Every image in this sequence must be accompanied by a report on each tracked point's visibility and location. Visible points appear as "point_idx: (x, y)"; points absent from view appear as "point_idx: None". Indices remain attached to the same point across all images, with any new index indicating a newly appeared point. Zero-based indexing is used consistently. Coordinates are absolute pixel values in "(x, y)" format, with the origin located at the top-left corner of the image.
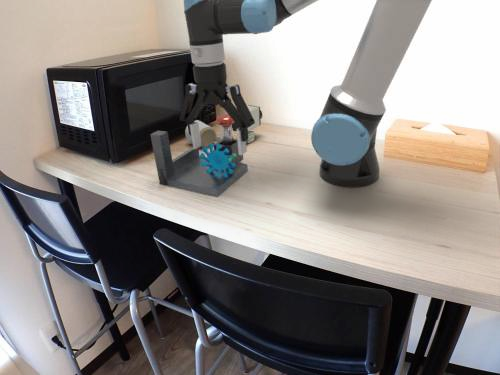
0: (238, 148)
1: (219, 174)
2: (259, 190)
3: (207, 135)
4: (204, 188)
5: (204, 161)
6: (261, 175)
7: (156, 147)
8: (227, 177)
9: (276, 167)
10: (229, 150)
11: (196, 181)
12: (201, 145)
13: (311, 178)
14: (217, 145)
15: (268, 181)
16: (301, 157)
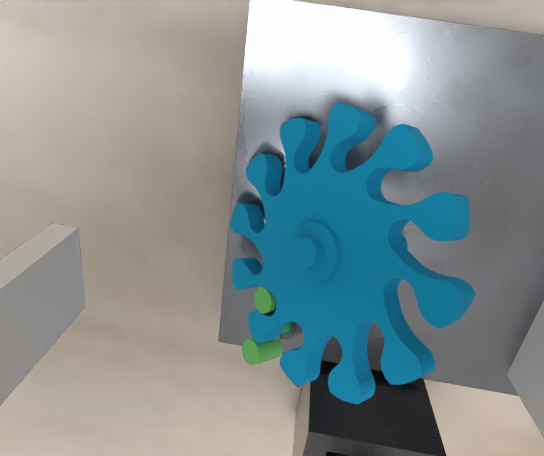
0: (39, 256)
1: None
2: (79, 141)
3: None
4: (348, 8)
5: (401, 166)
6: (144, 285)
7: None
8: None
9: (118, 362)
10: (326, 416)
11: (437, 79)
12: (507, 373)
13: None
14: (357, 383)
15: (86, 237)
16: (68, 445)
